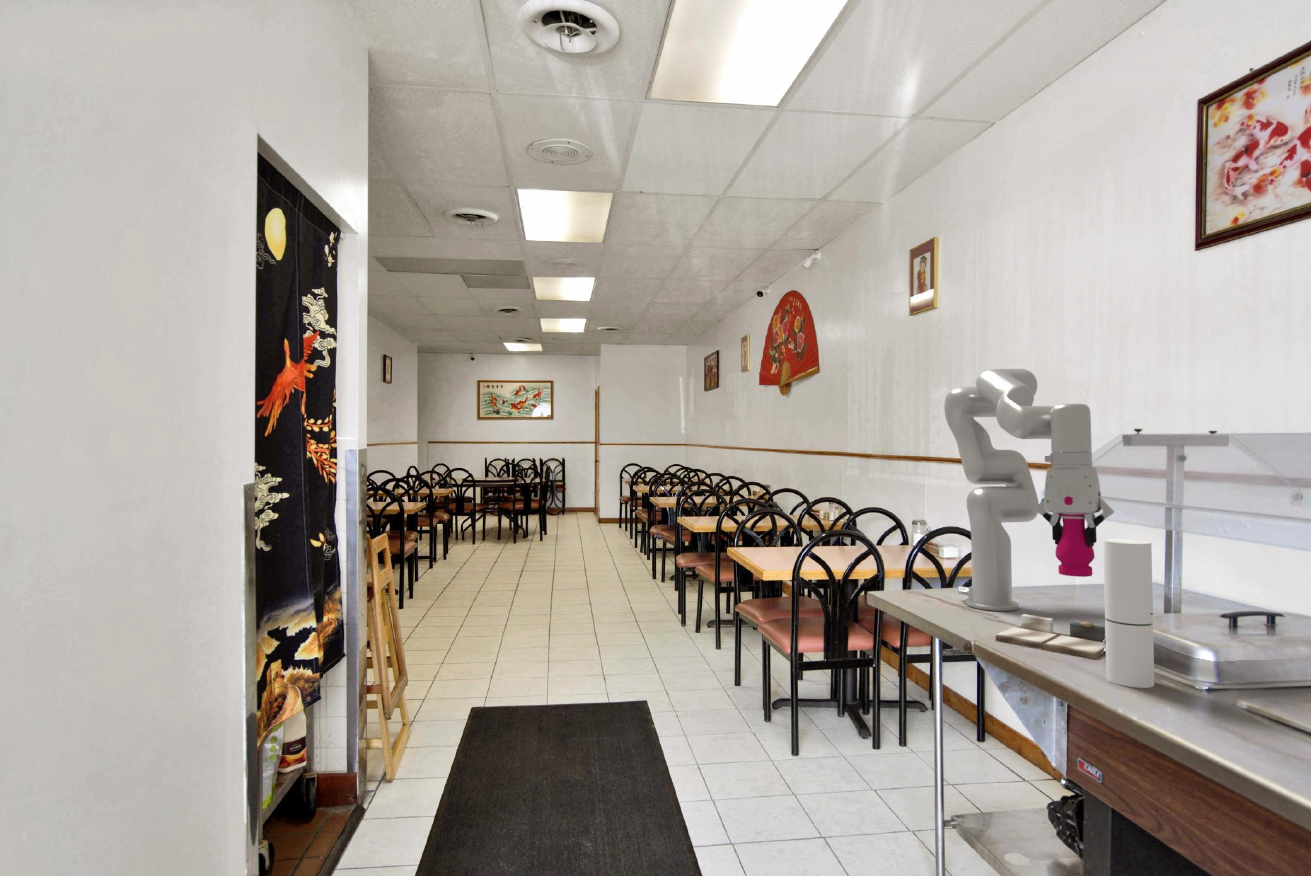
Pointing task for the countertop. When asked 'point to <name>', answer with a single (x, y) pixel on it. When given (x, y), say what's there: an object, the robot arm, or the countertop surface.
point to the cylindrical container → (1129, 612)
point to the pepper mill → (1074, 545)
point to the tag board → (1056, 636)
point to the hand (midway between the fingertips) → (1074, 544)
